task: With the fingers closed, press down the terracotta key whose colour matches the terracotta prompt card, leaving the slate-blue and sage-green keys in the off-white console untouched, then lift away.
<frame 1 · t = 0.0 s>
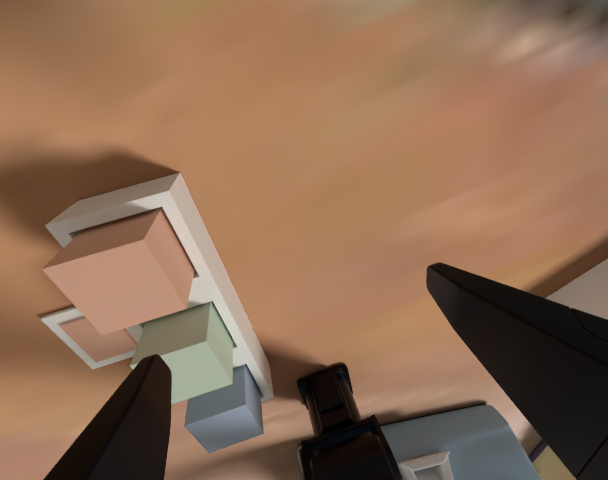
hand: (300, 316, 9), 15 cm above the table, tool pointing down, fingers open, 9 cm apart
slate blue key: (227, 401, 25), point 5 cm above the table, slide at 0.0 cm
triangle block: (605, 281, 40), on the table
touchscreen device: (390, 443, 49), on the table
key console: (197, 302, 26), on the table
prompt card: (104, 332, 25), on the table
sage green key: (190, 346, 21), point 5 cm above the table, slide at 0.0 cm
book: (604, 423, 72), on the table
terracotta key: (135, 265, 17), point 5 cm above the table, slide at 0.0 cm
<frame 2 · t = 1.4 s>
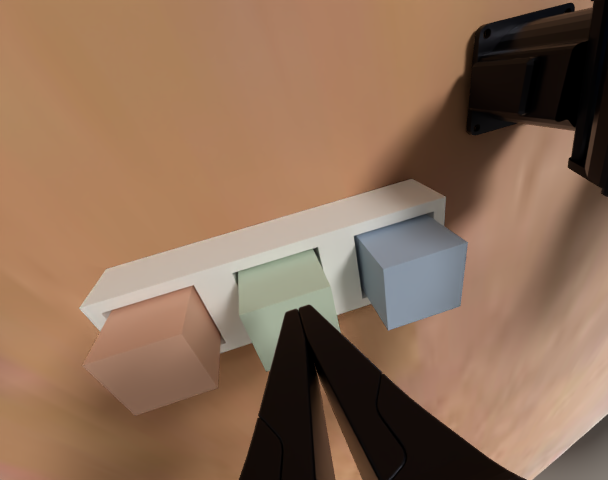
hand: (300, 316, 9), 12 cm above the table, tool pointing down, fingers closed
slate blue key: (403, 265, 19), point 5 cm above the table, slide at 0.0 cm
key console: (278, 260, 22), on the table
sage green key: (288, 302, 18), point 5 cm above the table, slide at 0.0 cm
terracotta key: (166, 341, 17), point 5 cm above the table, slide at 0.0 cm
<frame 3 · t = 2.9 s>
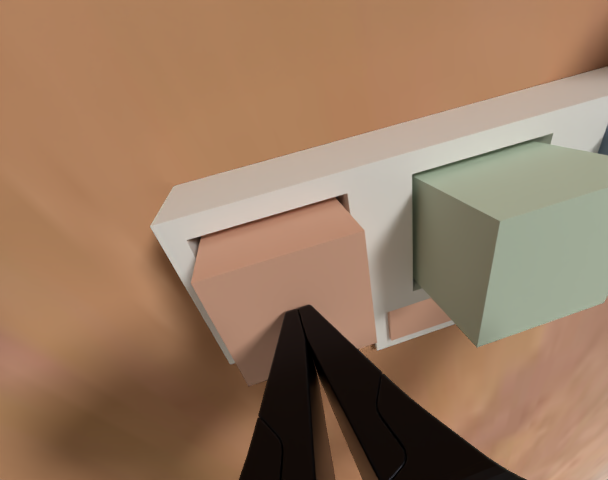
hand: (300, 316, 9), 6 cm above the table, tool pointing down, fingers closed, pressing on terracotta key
key console: (419, 189, 15), on the table
prompt card: (418, 302, 19), on the table
sage green key: (495, 231, 11), point 5 cm above the table, slide at 0.0 cm
terracotta key: (286, 273, 11), point 4 cm above the table, slide at 1.4 cm, touching gripper
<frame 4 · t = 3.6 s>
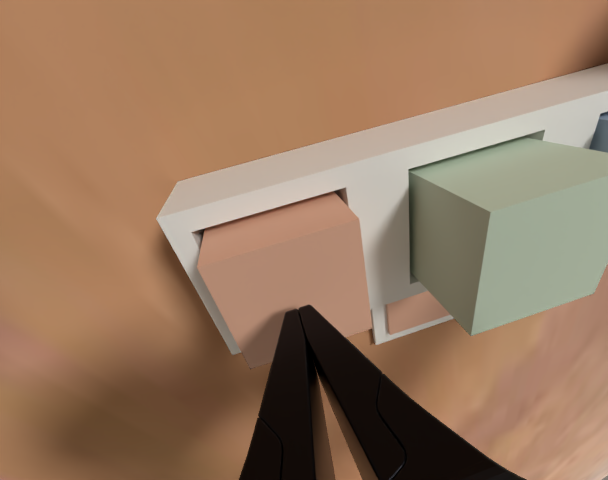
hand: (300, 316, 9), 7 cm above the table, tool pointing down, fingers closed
key console: (417, 185, 15), on the table
prompt card: (416, 297, 20), on the table
sage green key: (488, 225, 11), point 5 cm above the table, slide at 0.0 cm
terracotta key: (286, 262, 12), point 3 cm above the table, slide at 1.6 cm
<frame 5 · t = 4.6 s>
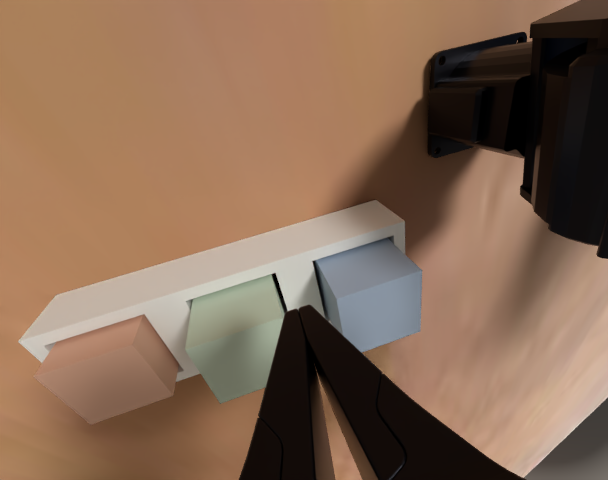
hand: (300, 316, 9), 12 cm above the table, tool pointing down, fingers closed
slate blue key: (364, 290, 18), point 5 cm above the table, slide at 0.0 cm
key console: (242, 282, 22), on the table
sage green key: (246, 329, 17), point 5 cm above the table, slide at 0.0 cm
terracotta key: (123, 351, 18), point 3 cm above the table, slide at 1.6 cm
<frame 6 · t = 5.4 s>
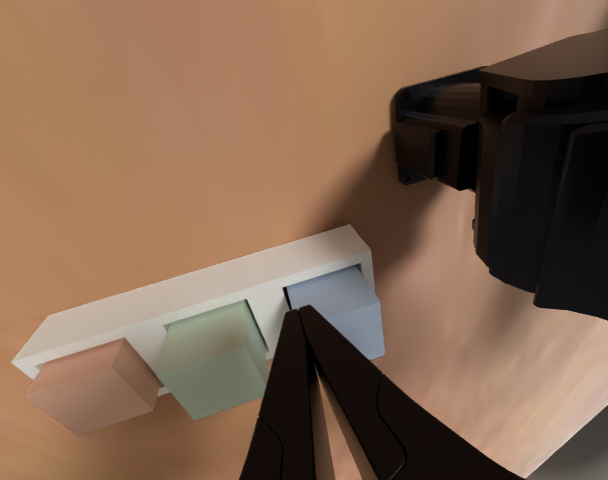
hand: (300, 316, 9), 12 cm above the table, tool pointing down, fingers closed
slate blue key: (332, 314, 19), point 5 cm above the table, slide at 0.0 cm
key console: (222, 301, 23), on the table
sage green key: (220, 351, 19), point 5 cm above the table, slide at 0.0 cm
terracotta key: (109, 368, 19), point 3 cm above the table, slide at 1.6 cm
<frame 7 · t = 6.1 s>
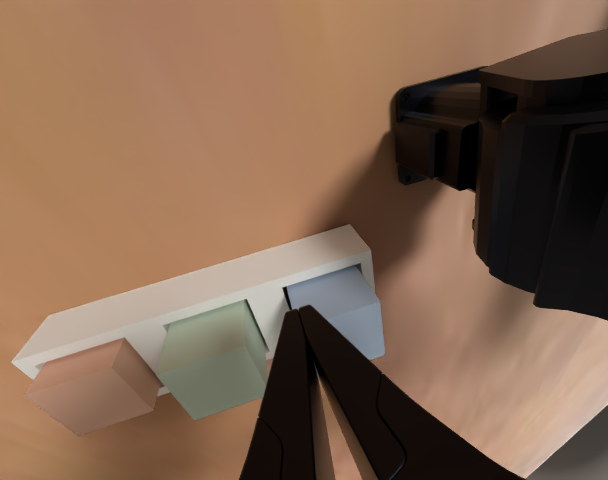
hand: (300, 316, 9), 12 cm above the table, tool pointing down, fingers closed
slate blue key: (332, 314, 19), point 5 cm above the table, slide at 0.0 cm
key console: (222, 301, 23), on the table
sage green key: (220, 351, 19), point 5 cm above the table, slide at 0.0 cm
terracotta key: (109, 368, 19), point 3 cm above the table, slide at 1.6 cm
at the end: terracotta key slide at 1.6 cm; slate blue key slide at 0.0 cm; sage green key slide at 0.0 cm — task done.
